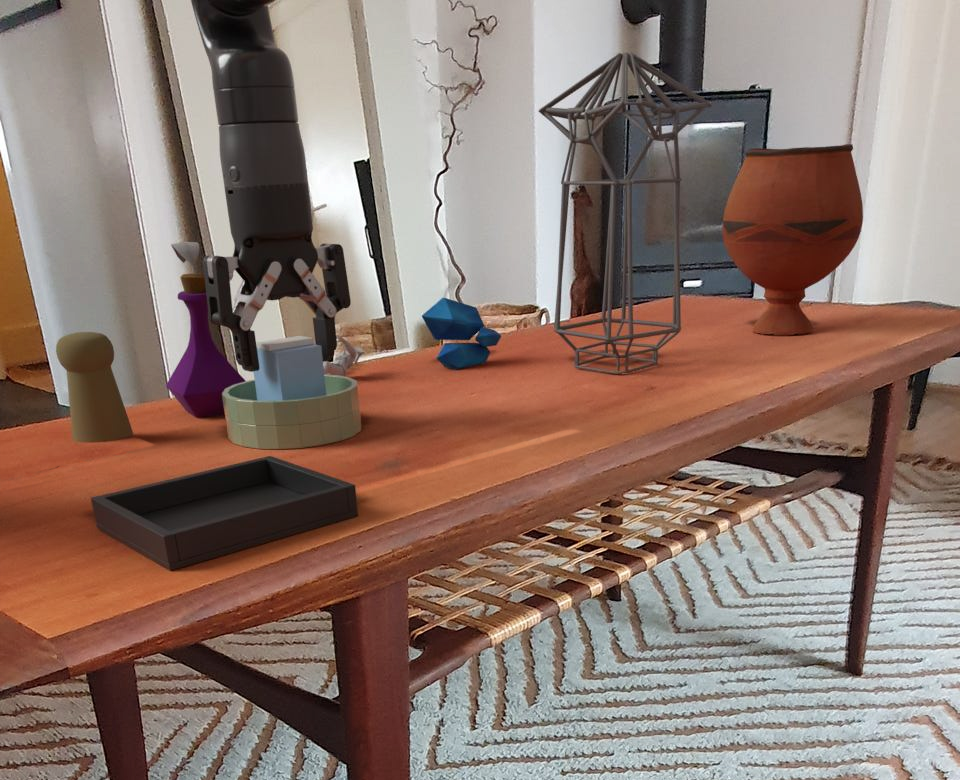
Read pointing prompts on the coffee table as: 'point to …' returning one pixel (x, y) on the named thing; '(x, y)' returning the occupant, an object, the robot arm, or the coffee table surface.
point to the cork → (92, 388)
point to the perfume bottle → (199, 349)
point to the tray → (223, 510)
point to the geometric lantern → (573, 114)
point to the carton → (289, 369)
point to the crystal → (459, 333)
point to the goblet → (792, 225)
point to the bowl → (292, 416)
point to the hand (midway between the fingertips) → (289, 363)
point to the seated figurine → (343, 359)
